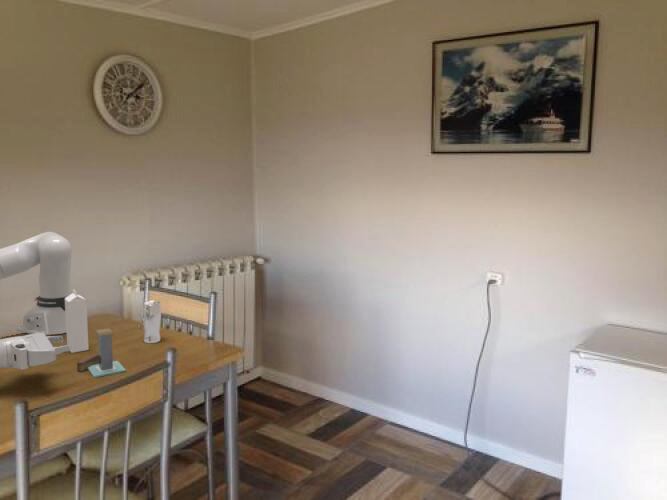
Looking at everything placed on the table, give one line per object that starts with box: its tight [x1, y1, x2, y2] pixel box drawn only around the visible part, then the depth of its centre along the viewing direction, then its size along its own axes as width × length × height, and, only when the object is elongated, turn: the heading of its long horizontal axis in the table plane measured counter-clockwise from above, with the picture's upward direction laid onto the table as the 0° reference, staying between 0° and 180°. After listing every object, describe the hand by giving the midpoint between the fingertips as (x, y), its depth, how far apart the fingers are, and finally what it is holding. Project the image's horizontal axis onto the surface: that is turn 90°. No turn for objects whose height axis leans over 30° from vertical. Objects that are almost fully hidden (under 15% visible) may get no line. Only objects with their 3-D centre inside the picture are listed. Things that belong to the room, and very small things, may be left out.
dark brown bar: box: [76, 351, 99, 373], centre depth 196 cm, size 2×12×3 cm, turn 165°
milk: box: [65, 288, 89, 354], centre depth 210 cm, size 6×6×22 cm
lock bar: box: [96, 327, 114, 370], centre depth 191 cm, size 4×4×13 cm
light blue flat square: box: [87, 360, 127, 378], centre depth 193 cm, size 10×10×1 cm
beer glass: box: [141, 300, 162, 344], centre depth 222 cm, size 7×7×15 cm
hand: (65, 343), depth 184 cm, fingers open, 8 cm apart
